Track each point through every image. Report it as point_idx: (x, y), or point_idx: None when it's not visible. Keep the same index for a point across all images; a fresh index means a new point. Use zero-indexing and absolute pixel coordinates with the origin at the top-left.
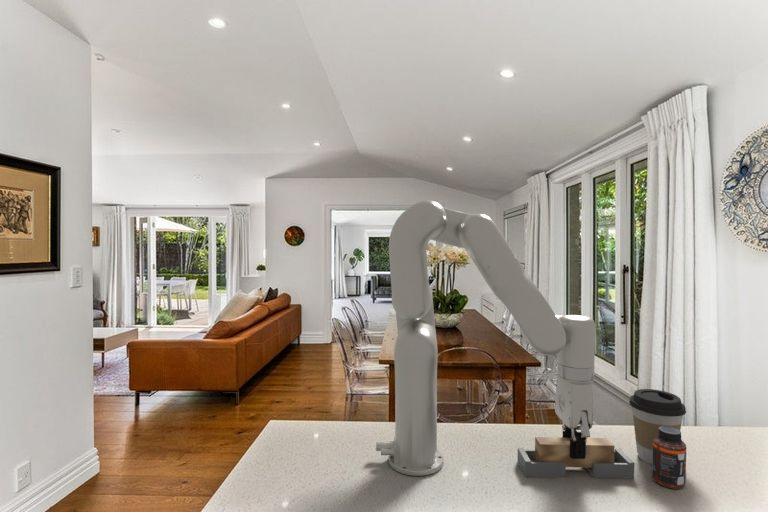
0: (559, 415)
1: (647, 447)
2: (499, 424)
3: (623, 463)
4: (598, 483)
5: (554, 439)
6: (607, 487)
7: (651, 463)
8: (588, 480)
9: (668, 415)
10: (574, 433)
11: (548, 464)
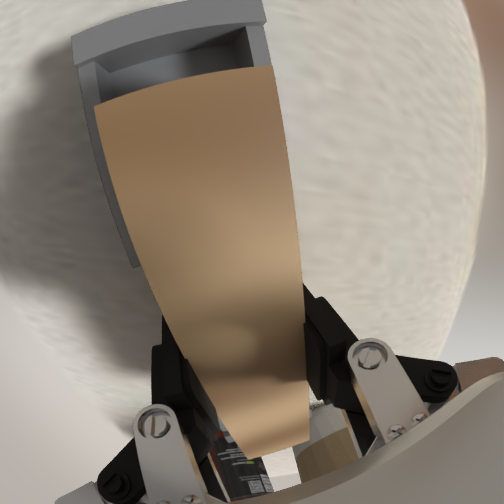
0: (406, 485)
1: (312, 447)
2: (479, 73)
3: (224, 426)
4: (147, 341)
5: (256, 254)
6: (134, 359)
7: None
8: (153, 316)
9: None
10: (143, 475)
11: (99, 169)
